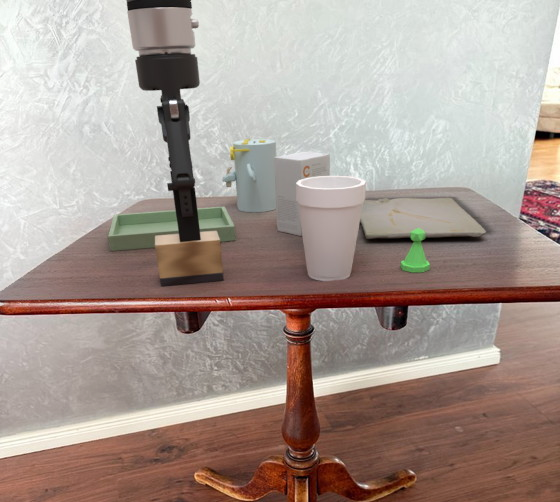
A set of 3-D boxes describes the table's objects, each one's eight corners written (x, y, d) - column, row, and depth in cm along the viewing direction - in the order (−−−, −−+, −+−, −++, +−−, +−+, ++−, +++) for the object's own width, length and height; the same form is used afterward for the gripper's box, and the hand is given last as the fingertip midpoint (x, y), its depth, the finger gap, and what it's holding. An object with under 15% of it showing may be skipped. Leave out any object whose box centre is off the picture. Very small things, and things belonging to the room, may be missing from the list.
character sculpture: (229, 198, 126) (224, 135, 120) (278, 196, 126) (276, 134, 119) (220, 220, 109) (214, 148, 102) (277, 218, 109) (274, 146, 102)
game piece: (410, 274, 79) (414, 233, 76) (394, 265, 82) (397, 226, 79) (435, 269, 80) (440, 229, 77) (418, 261, 84) (422, 222, 81)
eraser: (161, 286, 77) (154, 245, 74) (160, 275, 82) (154, 235, 79) (223, 280, 79) (220, 239, 76) (220, 269, 83) (216, 230, 80)
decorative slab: (349, 207, 115) (349, 197, 114) (449, 204, 115) (450, 195, 114) (366, 245, 92) (366, 233, 91) (492, 242, 91) (494, 230, 90)
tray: (110, 251, 93) (107, 236, 92) (116, 228, 106) (113, 214, 105) (235, 240, 96) (234, 226, 95) (225, 219, 110) (224, 206, 108)
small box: (304, 221, 106) (304, 150, 99) (329, 227, 102) (331, 153, 96) (275, 230, 101) (273, 156, 94) (301, 236, 97) (300, 159, 91)
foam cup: (297, 285, 76) (296, 190, 70) (296, 264, 84) (295, 176, 78) (365, 284, 76) (370, 188, 69) (357, 262, 84) (361, 174, 77)
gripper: (204, 48, 56) (223, 250, 66) (190, 53, 77) (206, 205, 88) (130, 51, 55) (161, 256, 65) (137, 55, 76) (160, 209, 87)
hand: (187, 227), depth 77 cm, fingers open, 13 cm apart
